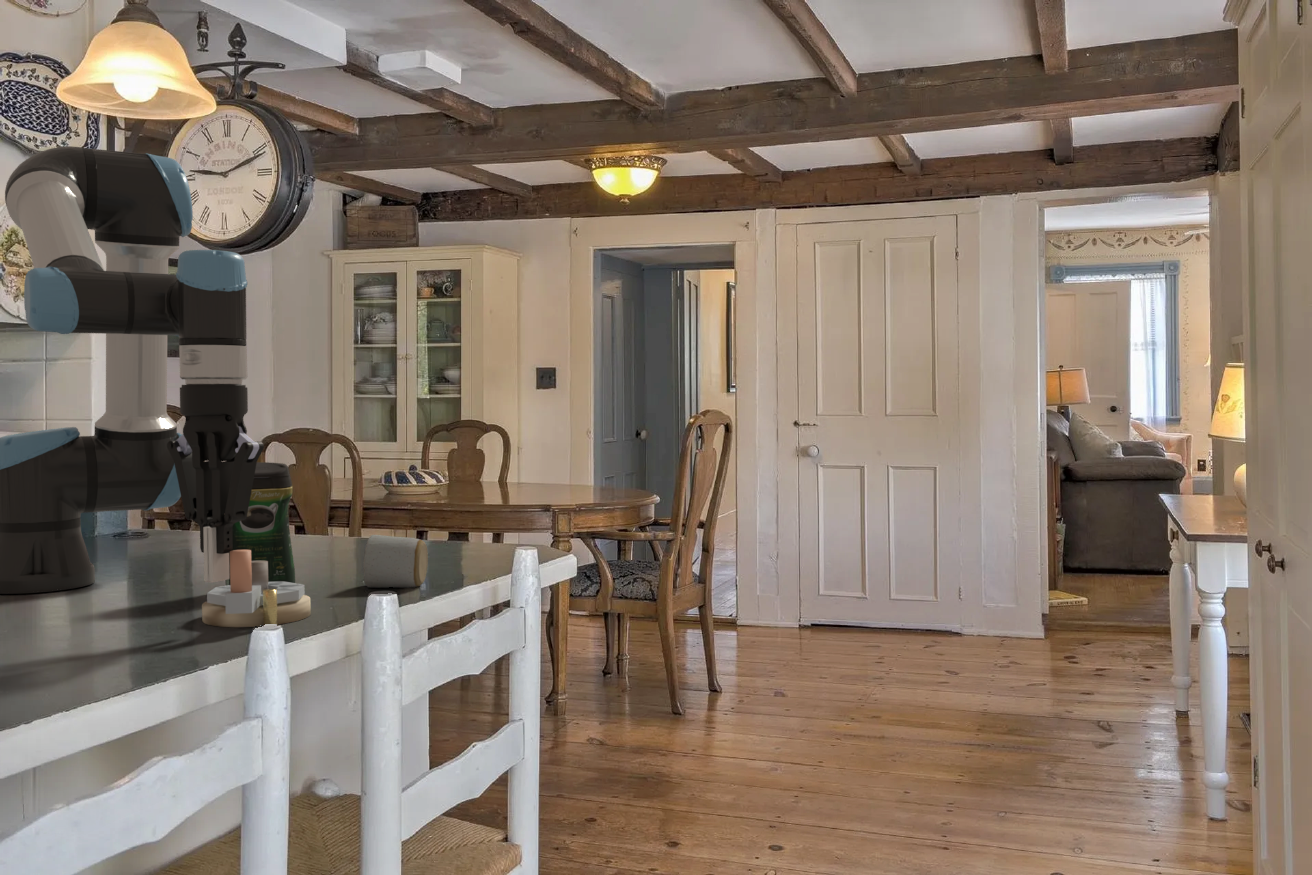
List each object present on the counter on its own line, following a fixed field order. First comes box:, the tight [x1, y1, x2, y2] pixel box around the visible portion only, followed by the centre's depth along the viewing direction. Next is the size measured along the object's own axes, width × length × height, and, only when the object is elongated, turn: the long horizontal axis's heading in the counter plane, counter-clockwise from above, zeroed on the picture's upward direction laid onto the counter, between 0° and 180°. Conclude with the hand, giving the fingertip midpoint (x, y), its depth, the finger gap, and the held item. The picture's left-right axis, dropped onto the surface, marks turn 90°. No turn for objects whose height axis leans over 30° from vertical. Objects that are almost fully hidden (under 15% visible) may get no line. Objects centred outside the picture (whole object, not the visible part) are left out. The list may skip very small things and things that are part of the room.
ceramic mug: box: [362, 534, 429, 589], centre depth 171 cm, size 11×8×8 cm
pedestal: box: [201, 560, 312, 628], centre depth 147 cm, size 13×13×7 cm
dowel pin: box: [263, 589, 278, 625], centre depth 141 cm, size 2×2×4 cm
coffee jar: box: [224, 461, 296, 586], centre depth 167 cm, size 10×8×19 cm
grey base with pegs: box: [206, 550, 306, 614], centre depth 144 cm, size 16×11×7 cm
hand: (217, 580), depth 138 cm, fingers closed
